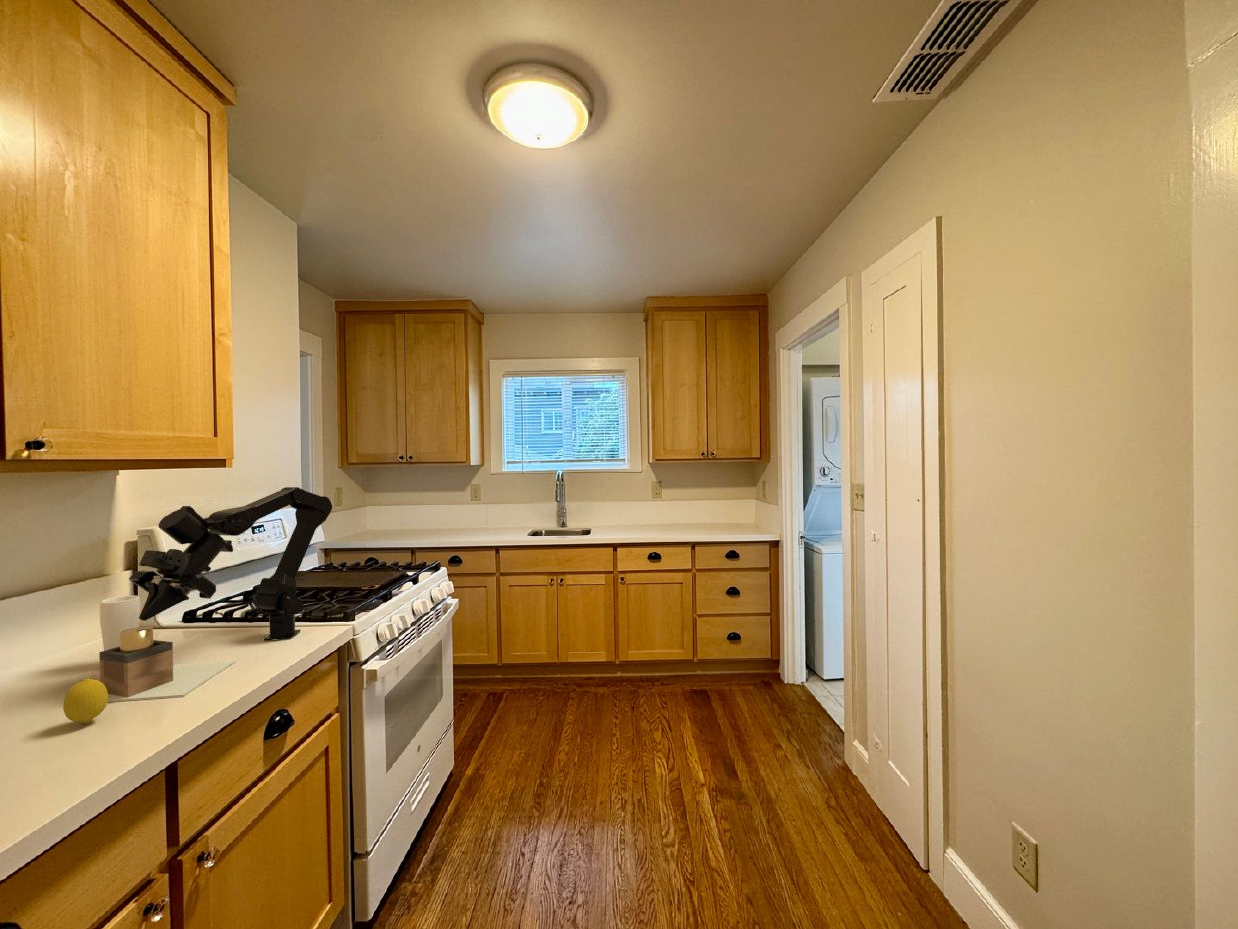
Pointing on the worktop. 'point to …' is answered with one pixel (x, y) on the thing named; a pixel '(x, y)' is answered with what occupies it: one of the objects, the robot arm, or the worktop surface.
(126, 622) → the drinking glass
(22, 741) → the worktop surface
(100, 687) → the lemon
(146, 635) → the peg
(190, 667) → the mat
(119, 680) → the wooden box
